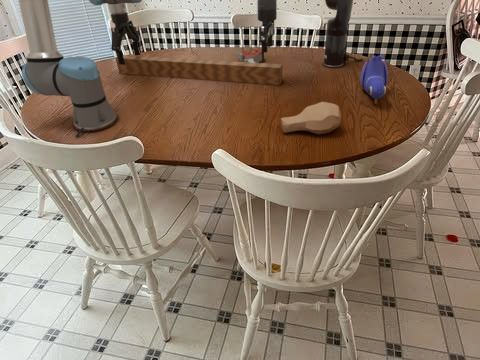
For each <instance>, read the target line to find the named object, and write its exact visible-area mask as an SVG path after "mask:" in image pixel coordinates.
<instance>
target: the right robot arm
mask: <svg viewBox="0 0 480 360" xmlns="http://www.w3.org/2000/svg"><path fill="white" fill-rule="evenodd" d="M256 1H257V2H256V3H257V5H256V6H257V7H256V9H257V21H259V22H262V24H261V26H259V43H260V44H261V48H262V52H264V54H266V53H268V47H270V48H271V47H273V45H274V41H273V39H274V38H273V37H274V35H275V21H276V20H277V18H278V17H277V14H278V13H277V11H278V9H277V8H278V6H277V5H278V1H277V0H256ZM324 2H325V6H326V7H327V8H328V9H329V10H333V11H336V14H335V16H334V17H332V18H331V17H330V18H329V19H327V22H326V31H325V32H326V33H325V45H324V53H323V66H324V67H327V68H340V67H343V66H344V65H345V64H346V62H349V59H353V60H354V61H356V62H361V61H363V60H364V59H363V58H356V57H354V56H350V54H348V53H347V51H348V50H347V49H348V43H347V36H348V29H349V28H348V27H349V23H350V20H351V16H352V10H353V5H354V0H324Z"/></svg>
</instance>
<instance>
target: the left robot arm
mask: <svg viewBox="0 0 480 360" xmlns="http://www.w3.org/2000/svg"><path fill="white" fill-rule="evenodd" d="M88 1H89V3H90V4H92V5H94V6H102V5H103V4H104V5H105V4H107V8H108V11H109V13H110V19H111V22H112V24H114V27H110V30H111V31H110V32H111V51H113V52H115V55H116V58H118V61H119V65H125V62H124V58H123V55H124V54H123V50H122V49H121V48H122V43H123V38H124V36H125V35H127V36H128V38H130V40H131V44H132V49H133V54H134V56H141V52H140V48H139V47H140V45H139V42H140V38H141V37H140V36H139V32H138V31H137V30H136V28H135V26H134V24H133V21H132V20H130V18H129V13H128V12H127V11H128V9H127V5H126V4H139V3H141V2H142V1H143V0H88ZM18 4H19V9H20V14H21V18H22V23H23V28H24V32H25V35H26V40H27V41H26V42H27V44H28V50H29V52H28V54H27V55H26V56H25V59H26V62H25V63H24V64H23V66H22V67H23V68H22V69H21V76H22V80H23V82H24V84H25V85H26V87H27V89H29V90H30V91H32V92H33V93H35V94H37V95H41V96H46V97H48V96H50V97H51V96H54V97H55V96H56V97H69V99H70V101H71V104H72V108H73V114H72V117H73V118H72V119H73V125H74V128H75V129H76V131H77V133H76V134H75V137H76V138H78V137H79V136H80V135H81V133H82V132H84V133H92V132H99V131H102V130H105V129H107V128H110V127H111V126H113V125H115V124H116V122H117V121H118V116H117V113H116V111H115V110H114V108H113V107H112V105H111V103H110V102H109V101H108V99H107V96H106V92H105V89H104V87H103V86H104V85H103V83H102V79H101V73H100V71H99V69H98V66H97V64H96V62H95V61H94V60H93V59H92V58H89V57H86V56H80V55H79V56H78V55H76V56H67V57H64V55H63V54H62V53H61V52H60V51H59V49H58V47H57V41H56V35H55V31H54V25H53V19H52V15H51V10H50V4H49V0H18Z"/></svg>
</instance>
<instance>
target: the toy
mask: <svg viewBox="0 0 480 360" xmlns="http://www.w3.org/2000/svg"><path fill="white" fill-rule="evenodd" d="M384 58H385V56H384V55H380V54H379V55H377V56H376V55H372V56H371V57H370V60H369V61H368V60H366V61H365V62H364V64H363V66H362V69H361V71H360V77H359V84H360V86H361V88H363V91H365V92H366V93H367V94H368V95H369V96H370V97H371V98H372V99H374V105H377V104H378V100H380V99H381V98H382V97H384V96H385V95H386V94H387V85H388V82H389V81H388V80H389V71H388V66H387V63H386V60H384Z"/></svg>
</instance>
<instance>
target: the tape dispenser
mask: <svg viewBox="0 0 480 360" xmlns="http://www.w3.org/2000/svg"><path fill="white" fill-rule="evenodd" d="M251 52H252V53H251ZM237 60H238V61H240V62H249V63H263V62H264V61H265V53H264V52H262V47H261V48H255V49H248V50H247V49H246V50H242V51H241V50H239V51H237Z"/></svg>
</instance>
